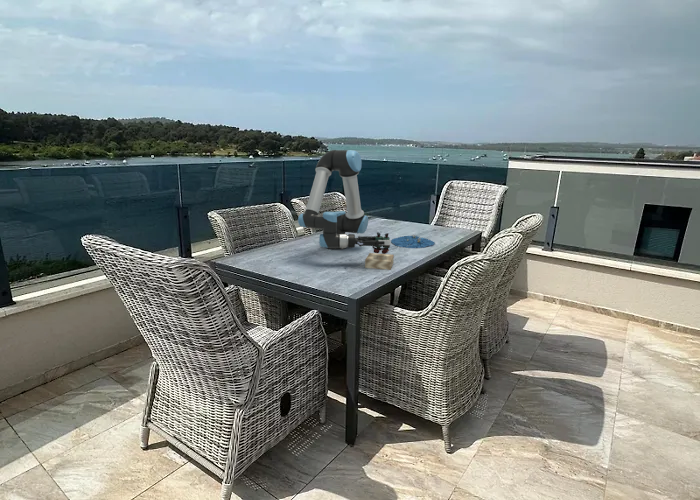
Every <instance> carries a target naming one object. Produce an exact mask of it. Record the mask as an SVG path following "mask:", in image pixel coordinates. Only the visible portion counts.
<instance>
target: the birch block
mask: <svg viewBox="0 0 700 500" xmlns="http://www.w3.org/2000/svg"><path fill="white" fill-rule="evenodd" d="M394 257H395V256H394V254H388V253H386V254H382V253H374V252H369V253H368V255H367V256H366V258H365V260H364V268H365V269H374V270H375V269H376V270H386V269H387V271H388V270H389V271H391V269H392V267H393V265H394Z"/></svg>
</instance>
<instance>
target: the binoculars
mask: <svg viewBox="0 0 700 500" xmlns="http://www.w3.org/2000/svg"><path fill="white" fill-rule="evenodd" d="M375 237H376V238H375V240H391V239H390V237H389V233H388V232H386V233H384V236H381V233H380V232H376V235H375ZM371 247H372V249H373V253H377V254H380V251H381V254H388V252H389V251H390V248H391V244H390V245H378V247H377V246H371Z"/></svg>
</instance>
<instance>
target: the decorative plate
mask: <svg viewBox="0 0 700 500" xmlns="http://www.w3.org/2000/svg"><path fill="white" fill-rule="evenodd" d="M390 240H391V242H390V243H391V244H394V246H395V247H401V248H406V249H413V248H414V249H420V248H421V249H424V248H427V247H428V246H429V247H430V246H434V244H435V241H433V240H431V239H429V238H425V237H420V236H417V235H415V234H412V235H403V236H398V237H395V238H392V239H390Z"/></svg>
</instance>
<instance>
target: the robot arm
mask: <svg viewBox="0 0 700 500" xmlns="http://www.w3.org/2000/svg"><path fill="white" fill-rule="evenodd" d="M362 163H363V161H362V158H361V155H360V153H359V152H358V151H357V150H353V149H352V150H351V149H347V150H345V149H344V150H343V149H339V150H338V149H331V150H328V151H327V152H325V153H324V154H323V155H322V156H320V159H319V160H318V161H317V163H316V166H315V176H314V180H313V183H312V186H311V190H310V193H309V197H308V200H307V203H306V207H305V211H304V212H303V213H300V214H299V215H298V218H297V223H298V225H299V227H302V228H306V229H308V228H309V229H317V230H318V229H320V230H322V233H320V234H319V236H318V238H319V239H318V240H319V242H318V243H319V247H320V248H326V249H328V250H329V249H330V250H345V249H347V248H348V249H351V248H352V249H354V248H356V247H355V246H356V245H357V246H359V247H372V246H377V247H378V245H390V246H391V243H392V242H391V240H392V239H390V240H375V238H376V235H375V236H372V235H371V236H366V235H365V236H360V235H359V236H357V237H356V235H355V234H365V232H366V231H367V230H368V225H369V216H368V215H365V211H364V210H362V206H361V205H362V204H361V198H360V191H359V184H358V176H357V175H359V173H360V171H361V169H362V167H363V166H362ZM334 171H335V172H338V175H339V177H341V178H342V183H343V190H344V192H343V193H344V197H345V204H346V211H347V212H346V211H344V210H338V211H324V212H322V214H319V213H320V209H321V205H322V202H323V198H324V195H325V191H326V188H327V183H328V180H329V177H330V176H332V172H334ZM347 233H349V234H347ZM377 247H376V248H377Z"/></svg>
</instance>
